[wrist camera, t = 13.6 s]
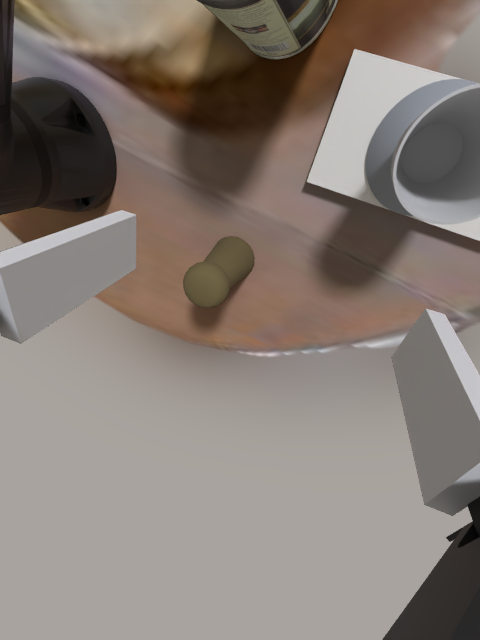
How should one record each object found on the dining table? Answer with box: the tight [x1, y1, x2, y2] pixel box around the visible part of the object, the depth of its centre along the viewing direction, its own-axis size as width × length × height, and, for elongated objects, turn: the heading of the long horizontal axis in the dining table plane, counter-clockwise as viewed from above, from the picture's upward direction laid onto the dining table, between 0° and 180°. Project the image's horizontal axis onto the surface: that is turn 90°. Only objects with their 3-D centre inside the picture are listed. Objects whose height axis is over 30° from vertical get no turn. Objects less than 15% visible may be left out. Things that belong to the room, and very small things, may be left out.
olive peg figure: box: [183, 236, 254, 308], centre depth 36 cm, size 6×6×11 cm
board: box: [307, 49, 480, 241], centre depth 28 cm, size 20×11×2 cm, turn 74°
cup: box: [391, 83, 480, 225], centre depth 23 cm, size 8×8×10 cm
